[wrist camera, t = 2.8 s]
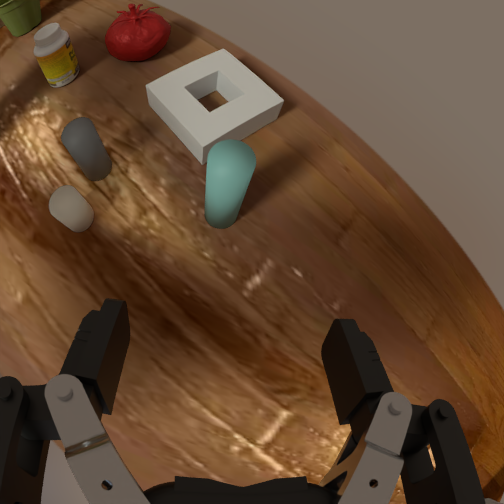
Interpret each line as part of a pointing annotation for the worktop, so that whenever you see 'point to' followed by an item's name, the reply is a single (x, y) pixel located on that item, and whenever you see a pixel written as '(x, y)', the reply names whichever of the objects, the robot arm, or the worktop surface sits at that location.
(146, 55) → the pomegranate
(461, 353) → the worktop surface
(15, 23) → the plant pot
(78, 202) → the cream pin
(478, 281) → the worktop surface
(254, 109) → the socket block
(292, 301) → the worktop surface
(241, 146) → the teal pin
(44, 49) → the supplement bottle
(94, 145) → the charcoal pin
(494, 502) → the supplement box
